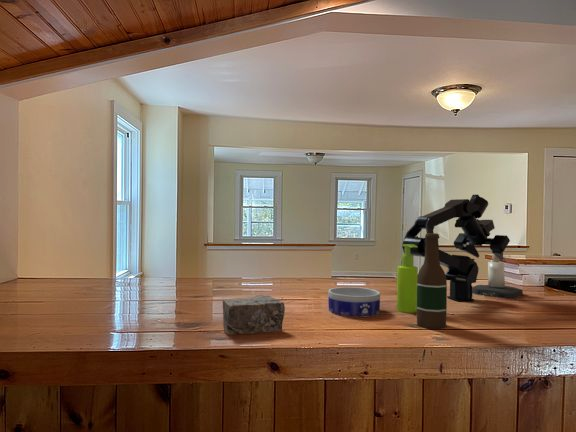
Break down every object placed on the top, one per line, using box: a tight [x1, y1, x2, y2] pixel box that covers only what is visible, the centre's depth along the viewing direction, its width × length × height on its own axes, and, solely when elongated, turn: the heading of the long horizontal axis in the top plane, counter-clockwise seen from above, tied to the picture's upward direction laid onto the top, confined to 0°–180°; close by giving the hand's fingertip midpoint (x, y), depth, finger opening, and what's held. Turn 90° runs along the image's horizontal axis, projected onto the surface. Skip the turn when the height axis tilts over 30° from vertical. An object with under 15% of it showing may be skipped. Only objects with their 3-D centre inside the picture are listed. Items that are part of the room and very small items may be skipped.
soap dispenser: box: [396, 243, 419, 314], centre depth 122 cm, size 6×7×20 cm
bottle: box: [487, 252, 506, 287], centre depth 151 cm, size 5×5×12 cm
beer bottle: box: [416, 232, 448, 330], centre depth 106 cm, size 8×8×24 cm
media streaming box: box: [472, 284, 524, 300], centre depth 150 cm, size 15×15×3 cm
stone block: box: [222, 294, 286, 336], centre depth 102 cm, size 14×9×8 cm, turn 115°
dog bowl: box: [327, 286, 381, 318], centre depth 122 cm, size 15×15×6 cm
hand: (490, 258), depth 148 cm, fingers open, 9 cm apart
